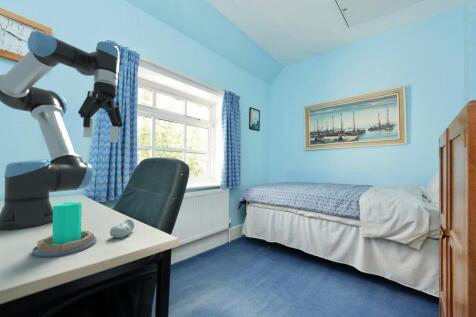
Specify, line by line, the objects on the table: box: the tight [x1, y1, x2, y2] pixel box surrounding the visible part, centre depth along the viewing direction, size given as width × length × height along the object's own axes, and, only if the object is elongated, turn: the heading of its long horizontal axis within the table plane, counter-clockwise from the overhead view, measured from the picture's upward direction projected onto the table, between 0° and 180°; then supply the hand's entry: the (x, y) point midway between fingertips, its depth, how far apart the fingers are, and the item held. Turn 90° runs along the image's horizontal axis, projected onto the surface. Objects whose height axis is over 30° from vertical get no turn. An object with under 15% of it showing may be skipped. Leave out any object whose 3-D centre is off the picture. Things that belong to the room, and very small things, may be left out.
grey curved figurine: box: [109, 219, 135, 239], centre depth 65 cm, size 4×8×5 cm
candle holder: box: [32, 230, 97, 258], centre depth 56 cm, size 13×13×2 cm
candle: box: [52, 198, 83, 244], centre depth 56 cm, size 6×6×12 cm
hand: (101, 140), depth 79 cm, fingers open, 13 cm apart
